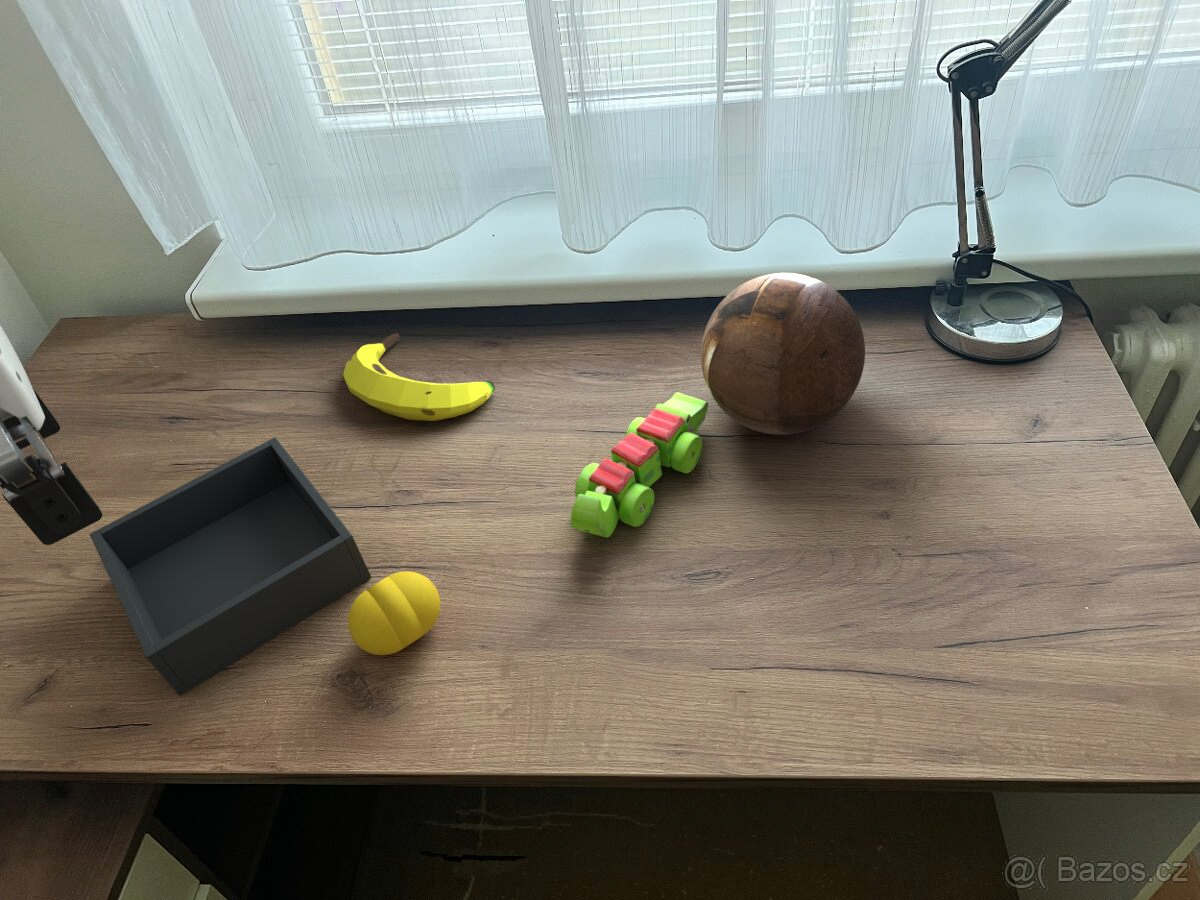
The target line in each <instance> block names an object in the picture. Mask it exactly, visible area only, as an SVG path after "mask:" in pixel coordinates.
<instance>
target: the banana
mask: <svg viewBox="0 0 1200 900" xmlns="http://www.w3.org/2000/svg"><path fill="white" fill-rule="evenodd" d="M400 339H401V338H400V334H399V333H398V332H397V333H393V334H390V335H388V336H387V337H385V338H383V339H382V340H381V341H380V342H379V343H368V344H365V345H361V347H359V348H358V349H357V351H355V353H354V354H353V355H352V356H351V358H350V359H349V360H348V361H347V362H346V363H345V366H344V369H343V373H342V375H343V380H344V382H345V384H346V386H347V388H348V390H349V392H350V393H351V394H353V395H354V396H356V397H357V398H358V399H360V400H361V401H364V402H365V403H367V404H368V405H369V406H371V407H373V408H375V409H378V410H379V411H381V412H382V413H386V414H389V415H392V416H395V417H398V418H402V419H405V420H410V421H426V422H435V421H442V420H447V419H452V418H456V417H460V416H462V415H466V414H468V413H471V412H472V411H475V410H476V409H478V408H479V407H480V406H483V405H484V404H485V403H486V401H487V400H489V398H490V397H491V395H493V393H494V392H495V391H496V385H495V382H493V381H492V380H487V381H471V382H459V383H437V382H436V383H435V382H427V381H419V380H414V379H411V378H406V377H403V376H400V375H397V374H395V373H394V372H392V371H390V370H389V369H387V368H386V367H385V366H384V365H383V364H382V363H381V362H380V359H381V357H382V356H383V355H384V353H386V352H387V351H388V350H390V349H391V348H392V347H393V346H394V345H396V344H397V343H398V342H399V341H400Z"/></svg>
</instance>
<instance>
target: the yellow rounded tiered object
mask: <svg viewBox="0 0 1200 900" xmlns="http://www.w3.org/2000/svg"><path fill="white" fill-rule="evenodd" d="M440 612H441V597H440V595H439V591H438V588H437V587H436V586H435V584H434V583H433V582H432V581H431V580H430V579H429V578H428V577H427V576H425V575H423V574H421V573H418V572H415V571H409V570H405V571H398V572H395V573H391V574H390V575H388V576H387V577H385V578H383V579H382V580H379V581H378V582H376V583H375V584H373V585H371V586H370V587H369V588H367V589H365V590H364V591H362V593H360V594H359V595H358V596H357V598H355V600H354V601H353V603H351V607H350V609H349V612H348V615H347V616H348V617H347V626H348V631H349V634H350V636H351V638H352V640H353V642H354V643H355V644H356V645H357V647H359V648H360V649H361V650H362V651H365V652H366V653H368V654H371V655H375V656H387V655H389V656H390V655H392V654H396V653H398V652H399V651H402V650H403V649H405V648H407V647H408V646H409V645H411V644H412V643H415V642H416V641H417V640H419V639H421V638H422V637H423V636H425V635H426V634H427V633H428V632H430V631H431V630H432V628H433V627H434V626H435V625H436V623H437V621H438V619H439V615H440Z"/></svg>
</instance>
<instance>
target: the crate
mask: <svg viewBox="0 0 1200 900" xmlns="http://www.w3.org/2000/svg"><path fill="white" fill-rule="evenodd" d="M89 537H90V539H91V541H92V543H93V545H94V547H95V550H96V552H97V554H98V557H99V559H100V560H101V563H102V565H103V567H104V569H105V572H106V573H107V576H108V578H109V580H110V582H111V584H112V587H113V588H114V591H115V594H116V596H117V597H118V599H119V602H120V604H121V606H122V609H123V610H124V612H125V615H126V617H127V619H128V621H129V623H130V625H131V627H132V629H133V632H134V634H135V636H136V638H137V640H138V642H139V645H140V647H141V649H142V651H143V653H144V655H145V657H146V659H147V660H148V661H149V662H150V663H151V665H152V666H153V667H154V668H155V670H156V671H157V672H158V673H159V674H160V675H161V677H162V678H163V679H164V680H165V681H166V682H167V684H168V685H169V686H170V687H171V689H172V690H173V691H174V692H175V693H176V694H177V695H178V697H179V696H180V697H181V696H183V694H186V693H187V692H189V691H190V690H193V688H195V687H197V686H198V685H200V684H201V683H203V682H204V681H206V680H208V679H209V678H211V677H213V676H214V675H216V674H217V673H219V672H221V671H223V670H224V669H226V668H227V667H229V666H230V665H231V666H232V664H234V663H235V662H237V661H239V660H240V659H242V658H244V657H245V656H247V655H249V654H251V653H252V652H253V651H255V650H256V649H259V648H260V647H261V646H263V645H265V644H266V643H268V642H269V641H271V640H273V639H274V638H276V637H277V636H279V635H281V634H283V633H284V632H286V631H287V630H289V629H291V628H292V627H294V626H296V625H298V623H301V622H302V621H304V620H305V619H307V618H309V617H311V615H313V614H315V613H316V612H318V611H320V610H321V609H323V608H325V607H326V606H328V605H329V604H331V603H333V602H334V601H336V600H337V599H339V598H341V597H342V596H345V595H346V594H347V593H349V592H351V591H352V590H354V589H356V588H357V587H359V586H360V585H362V584H364V583H365V582H367V581H368V580H370V579H371V578H372V575H371V573H370V570H369V569H368V566H367V564H366V562H365V560H364V558H363V555H362V553H361V550H360V549H359V546H358V545H357V543H356V540H355V538H354V536H353V534H352V533H351V532H350V531H349V530H348V528H347V526H346V525H345V524H344V522H342V520H341V519H340V518H339V517H338V515H337V514H336V512H335V511H334V510H333V509H332V508H331V506H330V505H329V504H328V502H327V501H326V500H325V498H324V497H323V495H321V493H320V492H319V491H318V489H317V488H316V487H315V486H314V484H313V483H312V481H311V480H310V479H309V478H308V477H307V476H306V474H305V473H304V472H303V470H302V469H301V468H300V466H299V465H298V464H297V463H296V462H295V460H294V459H293V458H292V456H291V455H290V454H289V452H288V451H287V450H286V448H285V447H284V446H283V445H282V443H281V442H280V441H279V440H278V439H277V437H276V436H274V437H273V438H270V439H268V440H266V441H265V442H262V443H261V444H259V445H257V446H255V447H253V448H252V449H250V450H247V451H246V452H244V453H242V454H240V455H238V456H236V457H234V458H232V459H230V460H228V461H227V462H225V463H223V464H221V465H218V466H216V467H215V468H213V469H211V470H209V471H207V472H206V473H204V474H201V475H199V476H198V477H195V478H194V479H192V480H190V481H188V482H186V483H184V484H182V485H181V486H178V487H177V488H174V489H173V490H171V491H169V492H167V493H164V494H163V495H162V496H159V497H157V498H156V499H154V500H152V501H150V502H148V503H146V504H144V505H141V506H140V507H138V508H136V509H135V510H131V512H129V513H127V514H125V515H122V516H121V517H119V518H117V519H115V520H113V521H112V522H109V523H107V524H106V525H104V526H102V527H100V528H98V529H96V530H94V531H92V532H90V533H89Z"/></svg>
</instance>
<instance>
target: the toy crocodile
mask: <svg viewBox="0 0 1200 900" xmlns="http://www.w3.org/2000/svg"><path fill="white" fill-rule="evenodd" d="M708 409H709V401H706V400H703V399H699V398H696V397H693V396H691V395H687V394H684V393H681V392H679V391H677V392H675V393H674V394H673V395H672V397H671V398H670V399H669V400H668V399H667V400H666V401H665V402H663V404H662V403H657V404H656V406H655V408H653V410H652V411H650V413H649V414H648V415H647V416H646V417H645V418H644V417H641V416H638V417H635V418H634V419H633V420H632V421H631V423H630V424H629V426H628V428H627V430H626V434H625V436H624V438H622V439H621V440H620V441H619V442H618V443H617V444H615V446H613V447H612V449H610V451H611V452H610V453H611V454H610V455H611V459H608V458H606V457H604V458H603V459H602V461H600V463H597V462H591V463H589V464H587V465H586V466H585V467H584V468H583V469H582V470H581V472H580V473H579V475H578V478H577V480H576V483H575V488H574V495H575V497H576V498H575V501H574V503H573V506H572V511H571V515H570V527H571V529H575V530H577V531H581V532H584V533H589V534H591V535H595V536H599V537H603V538H610V537H611V536H612V534H613V533H614V531H615V529H616V527H617V525H618V522H619V520H620V521H621V522H623V523H624V524H627V525H629V526H631V527H634V528H637V527H640V526H641V525H643V524H644V523H645V522H646V521H647V520H648V518H649V517H650V515H651V513H652V510H653V508H654V505H655V492H654V490H653V489H652V488H650V487H651V486H652V485H653V484H654V483H655V482H656V481H658V480H659V479H660V478H661V477H662V475H663V472H662V471H663V470H662V466H664V467H666V468H670V467H671V468H672V469H673V470H675V471H677V472H680V473H682V474H689V473H691V472H692V471H693V470H694V469H695V467H696V466H697V465H698V462H699V460H700V458H701V455H702V452H703V439H702V438H701V436H699V435H698V434H696V433H697V431H698V429H699V428H700V427H701V426H702V425H703V424H704V422H705V420H706V416H707V412H708Z"/></svg>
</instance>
